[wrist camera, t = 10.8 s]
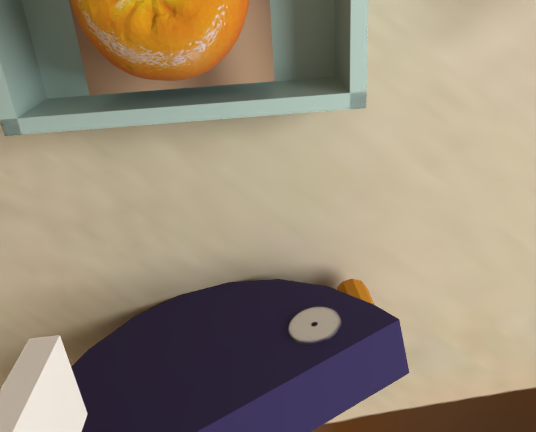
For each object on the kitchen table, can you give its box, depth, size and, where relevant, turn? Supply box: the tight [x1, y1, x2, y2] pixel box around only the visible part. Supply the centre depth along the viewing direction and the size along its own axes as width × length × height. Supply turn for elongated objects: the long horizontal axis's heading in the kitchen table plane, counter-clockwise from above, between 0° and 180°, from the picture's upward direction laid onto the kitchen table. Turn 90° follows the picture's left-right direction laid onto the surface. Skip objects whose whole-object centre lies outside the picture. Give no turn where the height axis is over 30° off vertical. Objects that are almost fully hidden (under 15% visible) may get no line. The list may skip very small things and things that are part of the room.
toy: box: [71, 279, 409, 432], centre depth 37 cm, size 30×5×15 cm, turn 105°
